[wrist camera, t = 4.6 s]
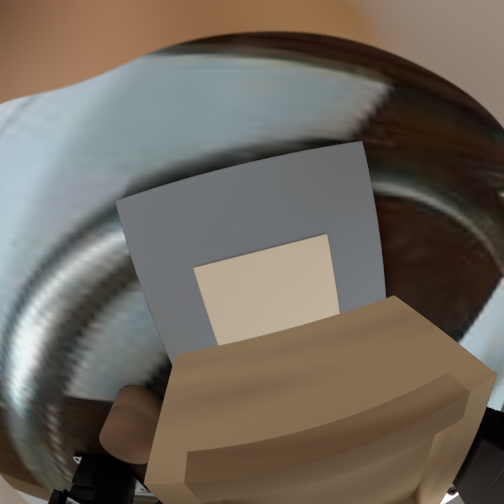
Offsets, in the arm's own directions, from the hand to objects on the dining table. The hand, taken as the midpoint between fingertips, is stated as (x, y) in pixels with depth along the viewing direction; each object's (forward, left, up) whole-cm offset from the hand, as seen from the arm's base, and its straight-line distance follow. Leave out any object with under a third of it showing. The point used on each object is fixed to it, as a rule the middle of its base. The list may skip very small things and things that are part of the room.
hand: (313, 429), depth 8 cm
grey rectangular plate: (0, 0, -11) cm, 11 cm away
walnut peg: (-6, +12, -11) cm, 17 cm away
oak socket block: (0, 0, -1) cm, 1 cm away
